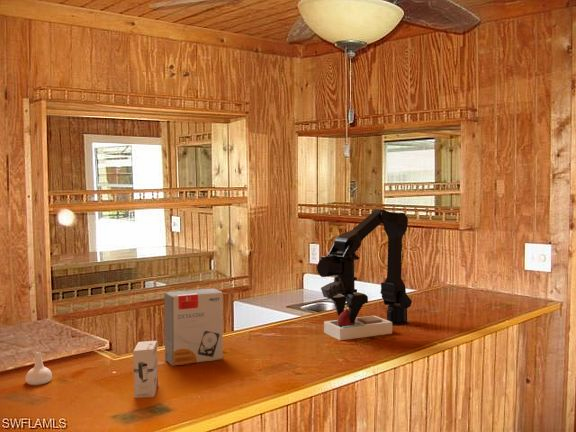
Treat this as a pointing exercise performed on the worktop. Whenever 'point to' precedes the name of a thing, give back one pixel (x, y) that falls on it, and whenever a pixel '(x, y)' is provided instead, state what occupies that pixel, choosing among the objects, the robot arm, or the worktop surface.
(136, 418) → the worktop surface
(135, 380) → the ink box
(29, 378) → the garlic bulb
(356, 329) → the white divided tray
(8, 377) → the worktop surface
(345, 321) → the onion
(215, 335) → the hard drive box
